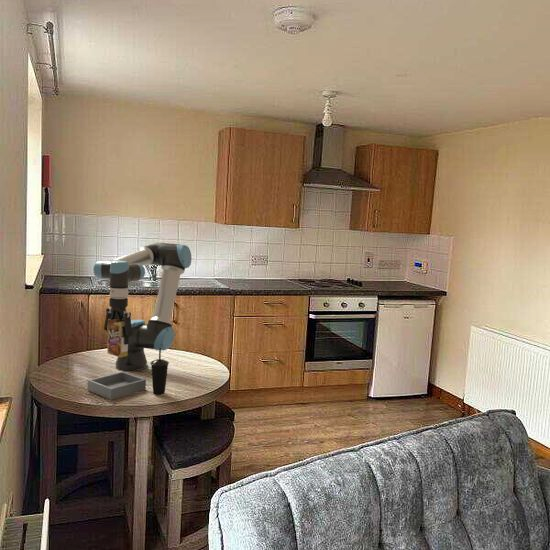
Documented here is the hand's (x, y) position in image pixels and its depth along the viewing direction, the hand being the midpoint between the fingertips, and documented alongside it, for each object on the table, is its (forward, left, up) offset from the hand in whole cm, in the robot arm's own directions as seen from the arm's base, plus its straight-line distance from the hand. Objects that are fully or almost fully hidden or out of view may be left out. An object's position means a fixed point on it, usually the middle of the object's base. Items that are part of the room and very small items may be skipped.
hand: (117, 349), depth 230 cm
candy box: (0, 0, -3) cm, 3 cm away
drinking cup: (+15, +10, -18) cm, 26 cm away
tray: (0, 0, -18) cm, 18 cm away
